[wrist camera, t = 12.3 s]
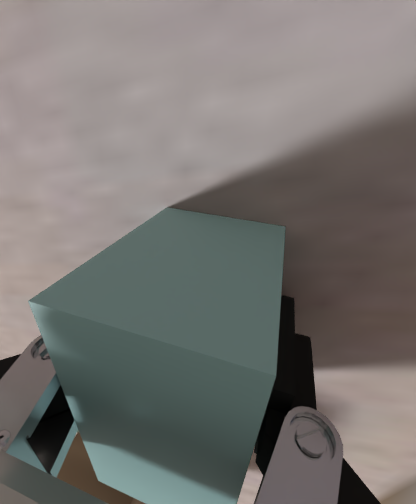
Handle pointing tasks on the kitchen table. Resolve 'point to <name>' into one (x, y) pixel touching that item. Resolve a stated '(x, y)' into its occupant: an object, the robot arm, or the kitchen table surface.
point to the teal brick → (170, 353)
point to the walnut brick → (89, 476)
